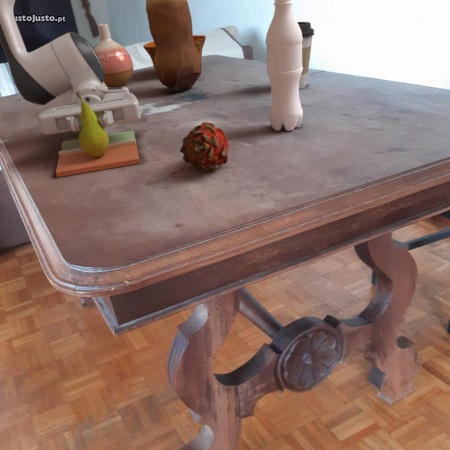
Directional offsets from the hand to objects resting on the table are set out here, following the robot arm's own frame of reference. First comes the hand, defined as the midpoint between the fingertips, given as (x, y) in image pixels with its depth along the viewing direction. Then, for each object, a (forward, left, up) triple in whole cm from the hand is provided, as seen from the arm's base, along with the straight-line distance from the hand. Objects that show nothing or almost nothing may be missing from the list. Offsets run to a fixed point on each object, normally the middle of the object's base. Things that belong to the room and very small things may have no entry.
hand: (89, 125), depth 90 cm
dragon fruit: (+20, -12, -8) cm, 25 cm away
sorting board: (0, +6, -8) cm, 10 cm away
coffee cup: (+53, +37, -8) cm, 65 cm away
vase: (+5, +75, -8) cm, 75 cm away
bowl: (+27, +82, -8) cm, 86 cm away
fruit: (0, +1, -7) cm, 7 cm away
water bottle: (+40, +3, -8) cm, 41 cm away
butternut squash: (+24, +54, -8) cm, 59 cm away
